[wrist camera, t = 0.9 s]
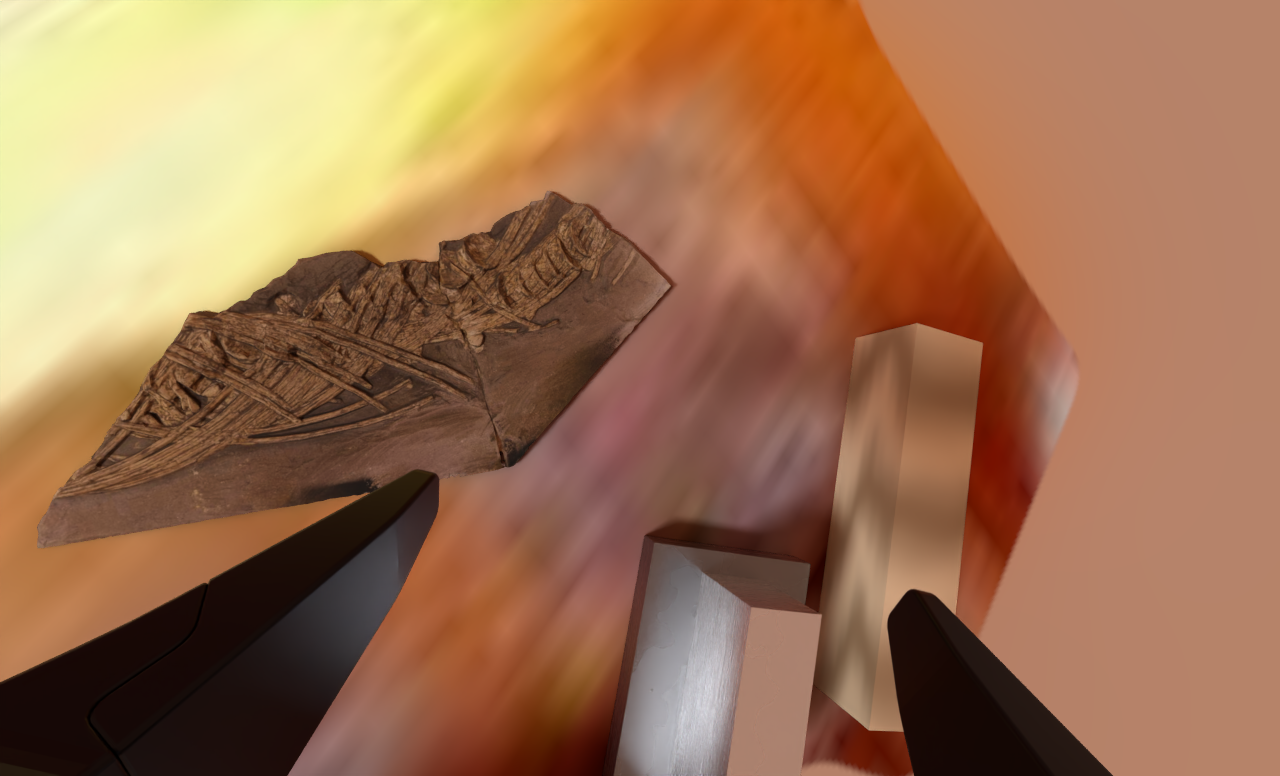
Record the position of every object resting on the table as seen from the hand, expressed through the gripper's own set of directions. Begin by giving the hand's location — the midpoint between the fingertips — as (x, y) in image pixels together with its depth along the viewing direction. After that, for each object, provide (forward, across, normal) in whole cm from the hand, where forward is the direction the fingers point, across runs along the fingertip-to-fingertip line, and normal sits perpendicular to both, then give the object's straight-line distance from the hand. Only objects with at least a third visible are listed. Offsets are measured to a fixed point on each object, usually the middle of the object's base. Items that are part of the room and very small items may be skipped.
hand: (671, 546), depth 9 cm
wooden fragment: (+11, +11, +6) cm, 17 cm away
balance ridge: (+7, -5, +16) cm, 18 cm away
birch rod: (+15, -12, +9) cm, 21 cm away
